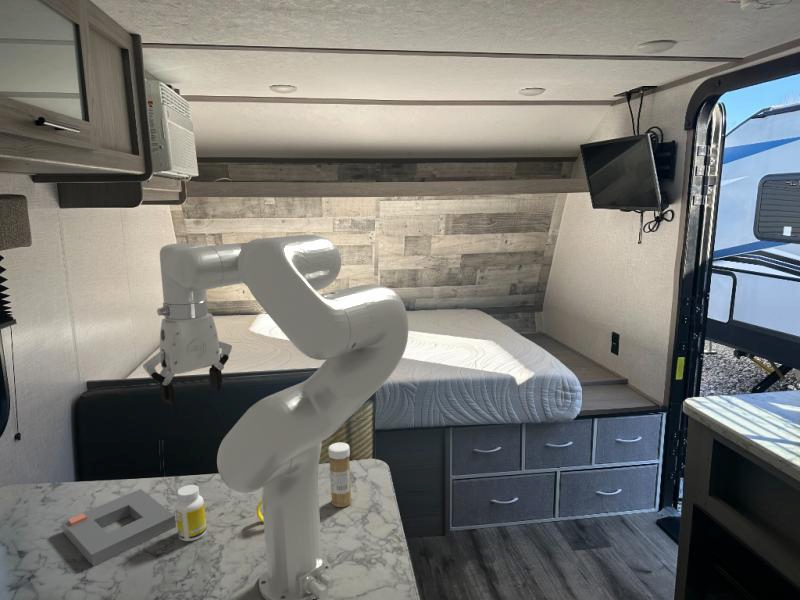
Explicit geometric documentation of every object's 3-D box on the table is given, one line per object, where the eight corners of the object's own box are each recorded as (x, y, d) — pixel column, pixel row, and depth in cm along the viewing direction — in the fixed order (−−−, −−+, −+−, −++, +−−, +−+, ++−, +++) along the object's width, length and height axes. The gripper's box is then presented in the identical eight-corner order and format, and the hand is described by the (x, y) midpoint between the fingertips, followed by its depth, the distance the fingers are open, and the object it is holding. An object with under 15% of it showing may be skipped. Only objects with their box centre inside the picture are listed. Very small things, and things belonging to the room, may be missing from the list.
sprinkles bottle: (352, 496, 123) (350, 441, 120) (350, 508, 118) (347, 451, 115) (332, 496, 123) (330, 441, 120) (329, 508, 118) (326, 451, 116)
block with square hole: (176, 526, 113) (174, 513, 112) (93, 566, 101) (91, 551, 101) (141, 498, 123) (140, 486, 123) (63, 532, 112) (61, 518, 111)
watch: (257, 527, 113) (253, 501, 112) (260, 519, 115) (256, 494, 114) (286, 524, 113) (282, 498, 112) (288, 516, 116) (285, 491, 114)
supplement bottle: (211, 526, 113) (207, 483, 111) (199, 543, 108) (194, 498, 106) (186, 525, 113) (181, 482, 111) (173, 541, 108) (168, 497, 106)
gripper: (148, 322, 94) (157, 414, 97) (238, 305, 106) (242, 388, 110) (130, 314, 98) (139, 402, 102) (217, 299, 111) (223, 378, 115)
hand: (193, 395), depth 106 cm, fingers open, 9 cm apart
